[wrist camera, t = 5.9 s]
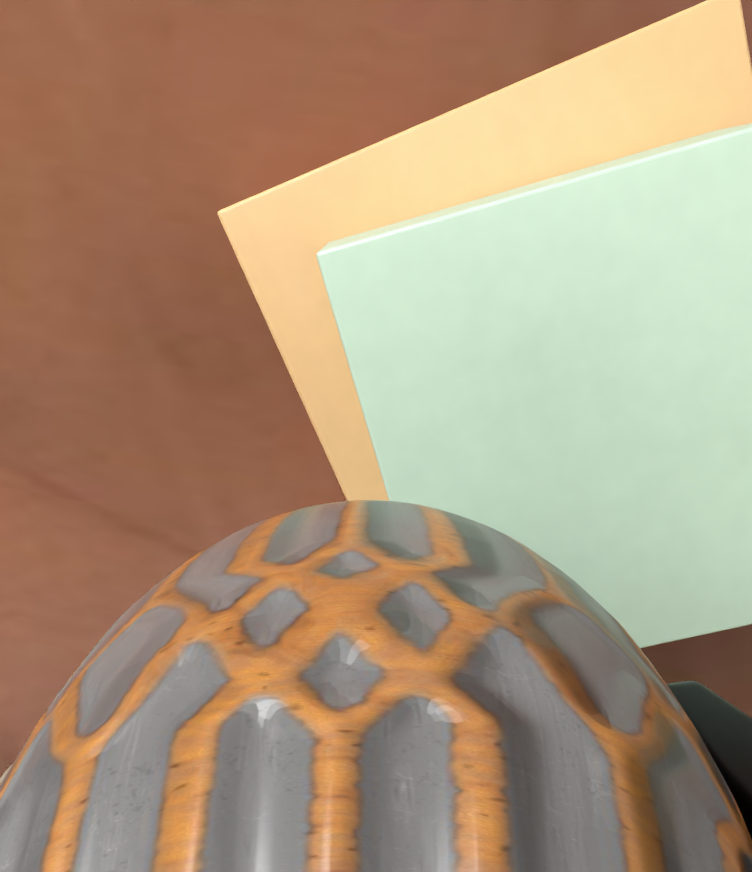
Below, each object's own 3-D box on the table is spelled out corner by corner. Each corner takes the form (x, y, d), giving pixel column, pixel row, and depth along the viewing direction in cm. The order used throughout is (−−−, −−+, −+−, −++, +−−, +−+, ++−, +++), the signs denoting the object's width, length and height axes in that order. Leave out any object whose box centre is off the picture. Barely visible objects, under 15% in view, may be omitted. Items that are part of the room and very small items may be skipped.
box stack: (770, 519, 21) (913, 636, 15) (426, 628, 22) (442, 771, 17) (672, 25, 16) (830, -68, 10) (243, 209, 18) (179, 214, 12)
